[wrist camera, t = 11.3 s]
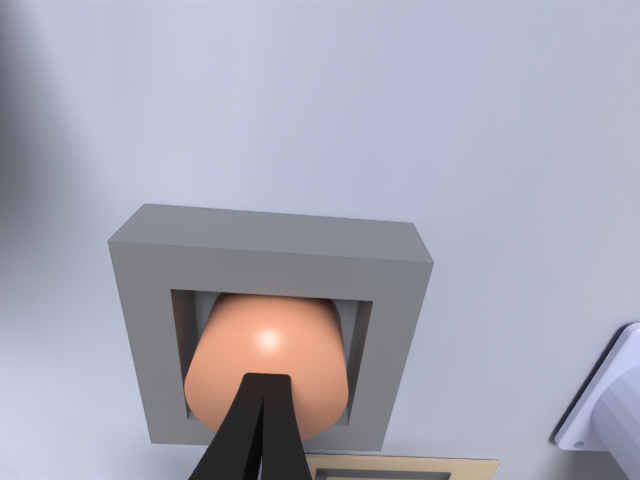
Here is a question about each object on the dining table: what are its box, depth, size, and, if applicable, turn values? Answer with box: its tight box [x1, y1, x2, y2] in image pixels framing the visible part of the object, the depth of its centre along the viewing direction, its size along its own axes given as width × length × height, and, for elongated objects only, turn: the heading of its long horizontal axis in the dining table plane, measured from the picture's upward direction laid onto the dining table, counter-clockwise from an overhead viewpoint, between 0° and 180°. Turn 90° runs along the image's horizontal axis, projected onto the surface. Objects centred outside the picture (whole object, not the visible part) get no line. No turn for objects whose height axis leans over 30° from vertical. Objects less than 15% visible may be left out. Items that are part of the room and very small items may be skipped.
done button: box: [184, 292, 348, 441], centre depth 13 cm, size 5×5×3 cm
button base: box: [108, 204, 434, 451], centre depth 13 cm, size 9×9×2 cm
